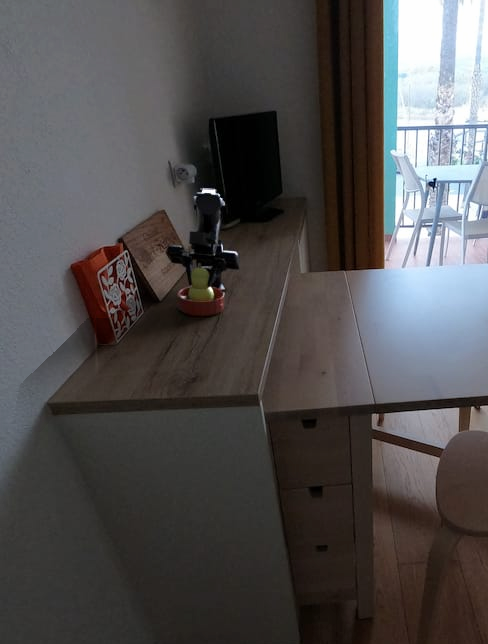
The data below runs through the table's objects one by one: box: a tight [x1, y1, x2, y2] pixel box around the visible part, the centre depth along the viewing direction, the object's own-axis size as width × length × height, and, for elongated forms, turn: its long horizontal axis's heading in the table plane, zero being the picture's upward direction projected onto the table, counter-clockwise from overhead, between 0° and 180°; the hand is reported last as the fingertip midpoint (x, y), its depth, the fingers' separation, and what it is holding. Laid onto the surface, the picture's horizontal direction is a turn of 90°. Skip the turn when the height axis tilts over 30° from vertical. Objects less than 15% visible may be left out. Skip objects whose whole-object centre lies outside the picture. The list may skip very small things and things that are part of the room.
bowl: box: [176, 286, 226, 317], centre depth 127 cm, size 12×12×4 cm
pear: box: [189, 263, 214, 301], centre depth 125 cm, size 7×7×12 cm
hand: (199, 285), depth 124 cm, fingers closed on pear, 5 cm apart
